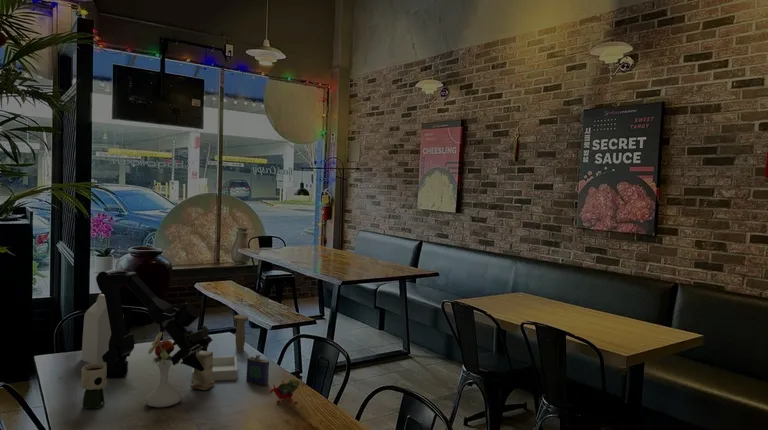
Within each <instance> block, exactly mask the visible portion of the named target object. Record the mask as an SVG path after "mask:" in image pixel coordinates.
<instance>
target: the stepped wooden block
mask: <svg viewBox="0 0 768 430" xmlns="http://www.w3.org/2000/svg"><path fill="white" fill-rule="evenodd" d="M213 357H214V351H209V350H207V351H202V350H201V351H200V352H198V353H196V358H197V359H198V361H199V362H200V363H201V365H202V367H203V368H204V370H203V371H202V372H201V371H199V370H197V369H195V368H194V382H192V383H191V384H190V389H196V390H203V391H206V390H209V389H210V388H211V387H213V386H215V383H216V380H215V381H212V367H213Z"/></svg>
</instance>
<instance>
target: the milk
mask: <svg viewBox="0 0 768 430" xmlns="http://www.w3.org/2000/svg"><path fill="white" fill-rule="evenodd" d="M123 316H124V317H125V315H124V313H123ZM110 337H111V328H110V323H109V317H108V312H107V306H106V300H105V296H104V294H103V293H99V294H98V297H97V300H96V302H95V303H93V304H92V305H91V306H90V307H89V308H88V309H87V310H86V311H85V312H84V317H83V330H82V344H81V345H82V346H81V358H80V359H81V361H84V362H86V363H89V364H97V363H99V364H105V365H107V362H103V359H102V356H103V355H104V354H105V353H106V352H107V351H108V350H109V340H110Z"/></svg>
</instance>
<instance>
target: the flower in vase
mask: <svg viewBox="0 0 768 430" xmlns="http://www.w3.org/2000/svg"><path fill="white" fill-rule="evenodd" d="M162 335H163V333H162V332H161V333H160V331H159V333H158V334H157V335H156V337H155V339H154V341H153V342H151V346H150V347H149V349H147V351H148V352H147V354H148V355H151V354H152V353H153V352H154V351H155V348H156V346H158V345H159V347H160V348H161V346H160V344H159V341H160V342H161V338H162ZM161 350H162V348H161ZM160 356H161V357H162V358H160V361H159V360H158V361H157V362H156V363H155V364H156V366H157V367H158V369H159V372H160V375H159V376H160V379H159V380H160V381H159V384H158V385H157V387H155V388H154V389H153V390H152V391H150V392H149V393H148V394H147V395H146V396H145V398H144V402H145V404H146V405H147V406H149V407H154V408H166V407H171V406H173V405H176V404H178V403H179V402H180V401H181V400H182V398H183V395H182V392H180V391H179V390H178V389H177V388H175V387H173V386H171V384H169V379H168V377H169V370H170V367H171V365H173V364H172V363H173V362H172V361H171V359H168V358H169V356H168V354H167V352H166V351H165V349H164V350H162V353H161V354H160Z"/></svg>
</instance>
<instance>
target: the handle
mask: <svg viewBox="0 0 768 430" xmlns="http://www.w3.org/2000/svg"><path fill="white" fill-rule="evenodd" d="M233 320H234V321H236V327H235V328H236V330H235V332H236V333H235V350H236V351H237V352H243V351H244V350H245V343H246V330H245V329H246V322H247V321H249V316H248V315H243V314H236V315H233Z"/></svg>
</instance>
